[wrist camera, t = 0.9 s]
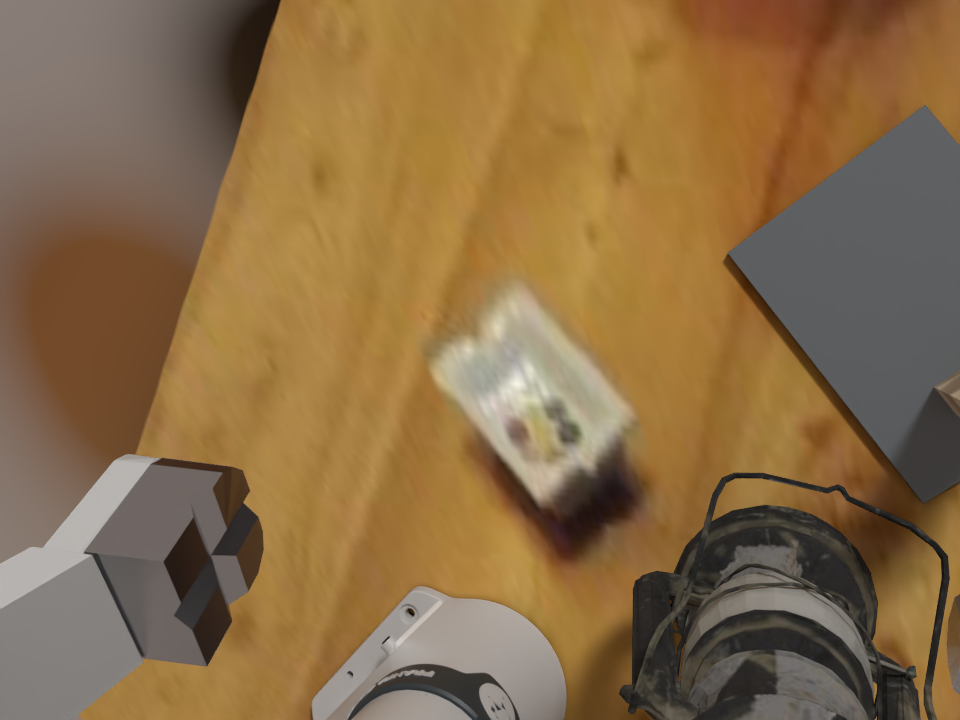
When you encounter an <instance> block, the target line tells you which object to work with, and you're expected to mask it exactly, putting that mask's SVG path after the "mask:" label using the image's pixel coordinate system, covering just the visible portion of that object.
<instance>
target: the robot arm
mask: <svg viewBox="0 0 960 720" xmlns="http://www.w3.org/2000/svg"><path fill="white" fill-rule="evenodd" d="M249 492H250V489H249V486H248V484H247V481H246V478H245V476H244V473H243V471H242V470H240V469H237V468H234V467H229V466H222V465H214V464H206V463H198V462H191V461H183V460H175V459H167V458H154V457H146V456H138V455H131V454H127V455H125V456H122V457H120V458H118V459H116V460H114V461H113V463H112V464H111V465H110V466H109V468H108V469H107V470H106V471H105V472H104V474H103V475H102V476H101V477H100V478H99V480H98V481H97V482H96V483H95V485H94V486H93V487H92V488H91V490H90V491H89V492H88V493H87V494H86V496H85V497H84V498H83V499H82V500H81V502H80V503H79V504H78V505H77V507H76V508H75V509H74V510H73V511H72V513H71V514H70V515H69V516H68V518H67V519H66V520H65V521H64V523H63V524H62V525H61V526H60V527H59V528H58V530H57V531H56V532H55V533H54V535H53V536H52V537H51V538H50V539H49V541H48V542H47V543H46V544H45V546H44V547H43V548H38V547H30V548H28V549H27V550H25V551H23V552H21V553H19V554H18V555H16V556H14V557H12V558H10V559H8V560H6V561H4V562H3V563H1V564H0V720H72V719H73V718H75V717H76V716H77V715H78V714H79V713H81V712H82V711H83V710H84V709H86V708H87V707H88V706H89V705H91V704H92V703H93V702H94V701H96V700H97V699H98V698H99V697H101V696H102V695H103V694H104V693H106V692H107V691H108V690H109V689H111V688H112V687H113V686H114V685H116V684H117V683H118V682H119V681H121V680H122V679H123V678H124V677H126V676H127V675H128V674H129V673H131V672H132V671H133V670H134V669H135V668H137V667H138V666H139V665H140V664H142V663H143V659H142V658H145V659H153V660H160V661H168V662H176V663H184V664H191V665H199V666H208V664H209V662H210V660H211V659H212V657H213V655H214V653H215V651H216V650H217V648H218V646H219V644H220V642H221V641H222V639H223V637H224V635H225V633H226V632H227V630H228V628H229V626H230V624H231V623H232V618H231V613H230V608H229V604H231V603H232V602H234V601H235V600H237V599H238V598H240V597H241V596H243V595H244V594H246V593H247V592H248V591H249V589H250V588H251V586H252V584H253V582H254V580H255V578H256V576H257V574H258V572H259V567H260V563H261V558H262V554H263V550H264V547H263V531H262V527H261V524H260V521H259V517H258V516H257V515H256V514H255V513H254V512H253V511H252V510H250V509H249V508H248V507H247V506H246V505H245V504H244V503H243V502H244V500H245V498H246V497H247V495H248V493H249ZM408 608H411V609H413V610H414V612H415V616H412V615H410V614H409V612H408ZM947 656H948V667H949V672H950V677H951V682H952V688H953V689H954V690H955V691H956V692H957V693H958V694H959V695H960V594H959V595H958V596H956V597H955V598H954V602H953V605H952V609H951V613H950V616H949V621H948V634H947ZM566 700H567V696H566V684H565V678H564V674H563V671H562V668H561V665H560V662H559V660H558V658H557V656H556V654H555V652H554V650H553V648H552V646H551V645H550V643H549V642H548V641H547V639H546V638H545V637H544V635H543V634H542V633H541V632H540V631H539V630H538V629H537V628H536V627H535V626H534V625H533V624H532V623H531V622H530V621H529V620H527V619H526V618H525V617H523V616H522V615H520V614H519V613H517V612H515V611H514V610H512V609H510V608H508V607H506V606H503V605H501V604H498V603H495V602H491V601H486V600H480V599H459V598H452V597H449V596H447V595H445V594H442V593H440V592H438V591H436V590H433V589H431V588H428V587H424V586H417V587H415V588H413V589H412V590H411V591H410V592H409V593H408V594H407V595H406V596H405V597H404V598H403V599H402V600H401V602H400V603H399V604H398V605H397V606H396V607H395V608H394V609H393V610H392V611H391V613H390V614H389V615H388V616H387V617H386V618H385V619H384V620H383V621H382V622H381V623H380V625H379V626H378V627H377V628H376V629H375V630H374V631H373V632H372V633H371V634H370V636H369V637H368V638H367V639H366V640H365V641H364V642H363V643H362V644H361V645H360V647H359V648H358V649H357V650H356V651H355V652H354V653H353V654H352V655H351V656H350V658H349V659H348V660H347V661H346V662H345V663H344V664H343V665H342V666H341V667H340V669H339V670H338V671H337V672H336V673H335V674H334V675H333V676H332V677H331V678H330V680H329V681H328V682H327V683H326V684H325V685H324V686H323V687H322V688H321V690H320V691H319V692H318V693H317V694H316V696H315V697H314V699H313V700H312V715H313V720H564V716H565V711H566Z"/></svg>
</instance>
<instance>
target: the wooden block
mask: <svg viewBox="0 0 960 720" xmlns="http://www.w3.org/2000/svg"><path fill="white" fill-rule="evenodd" d="M934 388H935V389H936V391H937V392H938V393H939V394H940V396H941V397H942V398H943V399H944V401H945V402H946V403H947V404H948V406H949V407H950V408H951V409H952V411H953V412H954V413H955V414H956V416H958V417H960V370H959V371H957V372H956V373H954V374H953V375H951V376H950V377H948V378H947V379H945V380H944V381H942V382H941V383H939V384H938V385H936V386H934Z"/></svg>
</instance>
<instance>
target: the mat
mask: <svg viewBox="0 0 960 720" xmlns="http://www.w3.org/2000/svg"><path fill="white" fill-rule="evenodd" d="M728 254H729V255H730V257H731V258H732V259H733V260H734V262H735V263H736V264H737V266H738V267H739V268H740V269H741V271H742V272H743V273H744V275H745V276H746V277H747V278H748V280H749V281H750V282H751V283H752V285H753V286H754V287H755V289H756V290H757V291H758V292H759V294H760V295H761V296H762V298H763V299H764V300H765V301H766V303H767V304H768V305H769V307H770V308H771V309H772V310H773V312H774V313H775V314H776V315H777V317H778V318H779V319H780V321H781V322H782V323H783V324H784V326H785V327H786V328H787V330H788V331H789V332H790V333H791V335H792V336H793V337H794V339H795V340H796V341H797V342H798V344H799V345H800V346H801V347H802V349H803V350H804V351H805V353H806V354H807V355H808V356H809V358H810V359H811V360H812V362H813V363H814V364H815V365H816V367H817V368H818V369H819V371H820V372H821V373H822V374H823V376H824V377H825V378H826V379H827V381H828V382H829V383H830V385H831V386H832V387H833V388H834V390H835V391H836V392H837V394H838V395H839V396H840V397H841V399H842V400H843V401H844V403H845V404H846V405H847V406H848V408H849V409H850V410H851V411H852V413H853V414H854V415H855V417H856V418H857V419H858V420H859V422H860V423H861V424H862V426H863V427H864V428H865V429H866V431H867V432H868V433H869V435H870V436H871V437H872V438H873V440H874V441H875V442H876V443H877V445H878V446H879V447H880V449H881V450H882V451H883V452H884V454H885V455H886V456H887V458H888V459H889V460H890V461H891V463H892V464H893V465H894V467H895V468H896V469H897V470H898V472H899V473H900V474H901V475H902V477H903V478H904V479H905V481H906V482H907V483H908V484H909V486H910V487H911V488H912V490H913V491H914V492H915V493H916V495H917V496H918V497H919V499H920V500H921V501H922V502H923V504H924V503H926V502H927V501H929V500H930V499H932V498H934V497H935V496H937V495H938V494H940V493H942V492H943V491H945V490H947V489H948V488H950V487H951V486H953V485H955V484H956V483H958V482H960V417H958V416H956V414H955V413H954V412H953V411H952V409H951V408H950V407H949V406H948V404H947V403H946V402H945V401H944V399H943V398H942V397H941V396H940V394H939V393H938V392H937V391H936V389H935V388H934V386H936V385H938V384H939V383H941V382H942V381H944V380H945V379H947V378H948V377H950V376H951V375H953V374H954V373H956V372H957V371H959V370H960V146H959V145H958V144H957V142H956V141H955V140H954V139H953V138H952V136H951V135H950V134H949V133H948V132H947V130H946V129H945V128H944V127H943V126H942V124H941V123H940V122H939V121H938V120H937V118H936V117H935V116H934V115H933V114H932V112H931V111H930V110H929V109H928V108H927V106H926V105H924V106H923V107H921V108H920V109H919V110H917V111H916V112H915V113H913V114H912V115H911V116H909V117H908V118H907V119H905V120H904V121H903V122H901V123H900V124H899V125H897V126H896V127H895V128H893V129H892V130H891V131H889V132H888V133H887V134H885V135H884V136H883V137H881V138H880V139H879V140H877V141H876V142H875V143H873V144H872V145H871V146H869V147H868V148H867V149H865V150H864V151H863V152H861V153H860V154H859V155H857V156H856V157H855V158H853V159H852V160H851V161H849V162H848V163H847V164H845V165H844V166H843V167H841V168H840V169H839V170H837V171H836V172H835V173H833V174H832V175H831V176H829V177H828V178H827V179H825V180H824V181H823V182H821V183H820V184H819V185H817V186H816V187H815V188H813V189H812V190H811V191H809V192H808V193H807V194H805V195H804V196H803V197H801V198H800V199H799V200H797V201H796V202H795V203H793V204H792V205H791V206H789V207H788V208H787V209H785V210H784V211H783V212H781V213H780V214H779V215H777V216H776V217H775V218H773V219H772V220H771V221H769V222H768V223H767V224H765V225H764V226H763V227H761V228H760V229H759V230H757V231H756V232H755V233H753V234H752V235H751V236H749V237H748V238H747V239H745V240H744V241H743V242H741V243H740V244H739V245H737V246H736V247H735V248H733V249H732V250H731V251H729V252H728Z"/></svg>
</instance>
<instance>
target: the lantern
mask: <svg viewBox="0 0 960 720" xmlns="http://www.w3.org/2000/svg"><path fill="white" fill-rule="evenodd" d="M735 478H762V479H767V480H771V481H775V482H780V483H784V484H789V485H793V486H797V487H802V488H806V489H811V490H815V491H819V492H824V493H830V492H832V491H835V490H837V491H840V492H841V493H842V495H843V496H844V498H845V499H846V500H847V501H849V502H851V503H853V504H855V505H857V506H859V507H862V508H864V509H866V510H868V511H870V512H872V513H875V514H877V515H879V516H881V517H883V518H885V519H888V520H890V521H892V522H894V523H896V524H898V525H901V526H903V527H905V528H907V529H909V530H910V531H912V532H913V533H914V534H916V535H917V536H918V537H920V538H921V539H922V540H924V541H925V542H926V543H928V544H929V545H930V546H932V547H933V548H934V550H935V551H936V553H937V554H938V556H939V557H940V559H941V569H942V580H941V587H940V593H939V599H938V605H937V611H936V617H935V624H934V630H933V636H932V642H931V648H930V654H929V661H928V667H927V673H926V679H925V685H924V706H925V710H926V713H927V716H928V720H937V718H936V715H935V712H934V708H933V704H932V682H933V676H934V670H935V664H936V658H937V652H938V646H939V640H940V634H941V628H942V622H943V616H944V610H945V604H946V598H947V592H948V585H949V579H950V578H949V564H948V556H947V554H946V553H945V552H944V551H943V550H942V548H941V547H940V546H939V545H938V544H937V543H936V542H935V541H934V540H932V539H931V538H930V537H929V536H927V535H926V534H925V533H924V532H923V531H921V530H920V529H919V528H918V527H916V526H915V525H914V524H913V523H911V522H908V521H906V520H904V519H901V518H899V517H897V516H894V515H892V514H890V513H887V512H885V511H883V510H880V509H878V508H876V507H873V506H871V505H869V504H866V503H864V502H861V501H859V500H857V499H854V498H852V497H850V496H849V495H848V493H847V491H846V490H845V488H844V487H842V486H840V485H835V486H832V487H829V488H825V487H821V486H816V485H812V484H808V483H803V482H799V481H795V480H790V479H786V478H782V477H778V476H773V475H769V474H765V473H733V474H730V475H728V476H725V477H723V478H721V480H720V482H719V484H718V486H717V487H716V489H715V491H714V493H713V494H712V498H711V502H710V505H709V509H708V512H707V516H706V520H705V523H704V527H703V529H702V530H701V531H700V532H699V533H698V534H697V535H696V536H695V537H694V538H693V539H692V540H691V541H690V542H689V543H688V544H687V545H686V547H685V549H684V551H683V553H682V555H681V558H680V560H679V562H678V564H677V567H676V569H675V571H674V574H673V573H667V572H660V571H655V572H652V573H648V574H645V575H642V576H641V577H640V578H639V579H638V580H636V581H635V584H634V588H633V638H632V685H624V686H623V687H622V688H621V689H620V693H619V695H620V696H621V697H622V698H623V699H624V700H625V701H626V702H627V703H629V704H630V705H629V709H628V712H629V713H630V714H634V713H635V711H636V708H640V709H644V710H645V711H646V712H647V713H648V714H649V715H650V716H651V717H652V718H653V719H654V720H875V718H876V716H877V720H921V719H920V709H919V698H918V690H917V689H916V688H915V685H914V682H913V679H912V678H915V677H917V676H916V668H915V666H910V667H908V669H904V668H902V667H901V666H900V665H899V664H898V663H896V662H894V661H893V660H891V659H890V658H888V657H886V656H885V655H883V654H881V653H880V652H878V651H877V650H876V648H875V646H874V644H873V642H872V640H873V637H874V635H875V628H876V618H877V608H878V601H877V597H876V593H875V589H874V585H873V581H872V577H871V572H870V571H869V569H868V567H867V566H866V564H865V562H864V560H863V559H862V557H861V555H860V554H859V552H858V551H857V549H856V548H855V547H854V546H853V545H852V544H851V543H850V542H849V541H848V540H847V538H846V537H845V536H844V535H843V534H842V533H841V532H839V531H838V530H837V529H835V528H834V527H832V526H831V525H829V524H828V523H826V522H824V521H823V520H821V519H819V518H817V517H816V516H814V515H812V514H809V513H806V512H802V511H799V510H796V509H792V508H789V507H780V506H770V505H762V506H756V507H750V508H744V509H739V510H733V511H731V512H729V513H727V514H725V515H723V516H721V517H719V518H717V519H716V520H714V521H712V517H713V513H714V510H715V506H716V502H717V499H718V496H719V495H720V493H721V491H722V489H723V488H724V486H725V484H726V483H727V482H729V481H731V480H733V479H735ZM711 521H712V522H711ZM670 600H671V601H672V604H670ZM670 607H672V608H670ZM674 620H676V623H677V627H678V628H679V630H680V631H678V630H676V629H673V623H674ZM673 632H676V633H679V634H681V635H682V639H681V641H680V643H679V645H678V647H677V654H676V653H675V644H674V635H673ZM684 643H685V650H684V656H683V662H682V668H681V684H680V688H679V679H678V675H679V666H680V657H681V649H682V647H683V645H684ZM870 647H871V648H870ZM873 681H874V682H875V683H876V684H877V694H876V698H875V703H874V700H873V696H874V687H873Z"/></svg>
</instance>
